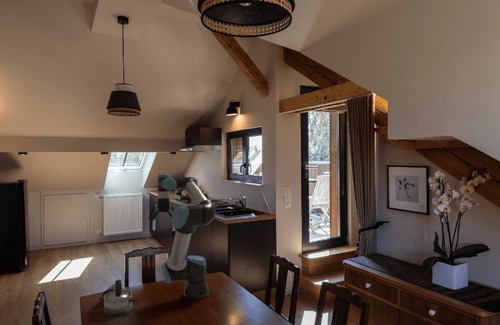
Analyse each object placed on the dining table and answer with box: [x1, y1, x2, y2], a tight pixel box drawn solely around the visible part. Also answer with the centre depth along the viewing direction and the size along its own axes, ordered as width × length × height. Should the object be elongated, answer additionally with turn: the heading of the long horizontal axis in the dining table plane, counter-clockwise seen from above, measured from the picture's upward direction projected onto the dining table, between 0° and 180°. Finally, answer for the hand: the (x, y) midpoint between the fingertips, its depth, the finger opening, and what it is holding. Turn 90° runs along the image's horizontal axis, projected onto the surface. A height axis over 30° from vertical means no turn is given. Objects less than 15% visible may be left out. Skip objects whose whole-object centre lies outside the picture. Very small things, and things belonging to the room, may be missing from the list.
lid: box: [108, 279, 129, 300], centre depth 190 cm, size 11×11×9 cm
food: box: [101, 283, 123, 304], centre depth 206 cm, size 21×10×9 cm, turn 14°
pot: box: [99, 289, 138, 317], centre depth 190 cm, size 21×15×8 cm
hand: (163, 230), depth 224 cm, fingers open, 13 cm apart
